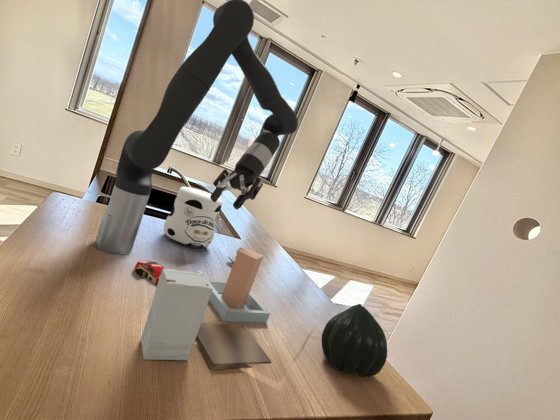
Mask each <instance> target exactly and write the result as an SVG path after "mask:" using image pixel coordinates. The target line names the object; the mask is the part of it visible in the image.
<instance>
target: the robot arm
mask: <svg viewBox="0 0 560 420" xmlns="http://www.w3.org/2000/svg"><path fill="white" fill-rule="evenodd" d="M254 18H255V16H254V10H253V8H252V6H251V5H250V3H248V2H247V1H245V0H227V1H226V2H224V3H223V4H221V5H220V6H218V7H217V8H216V10H215V11H214V14H213V18H212V22H213V23H212V24H213V27H212V29H211V30H210V32H209V33H208V34H207V36H206V38H205V39H204V40H203V41H202V42H201V43H200V44H199V45H198V47H197V48H195V49H194V50H193V52H191V54H189V56H187V58H186V59H185V60H184V61H183V63H181V65H180V66H179V68H178V69H177V71H175V74H174V75H173V76H172V78H170V79H171V80H170V81H169V83H168V84H167V87H166V89H165V91H164V93H163V94H164V95H163V97H162V100H161V103H160V106H159V109H158V111H157V113H156V115H155V116H154V118H153V119H152V120H151V122H150V123H149V125H148V126H147V127H146V128H145V130H136V131H133V132H131V133H130V134H129V135H128V136H127V138H126V139H125V141H124V143H123V147H122V149H121V153H120V157H119V160H118V165H117V168H116V173H115V174H116V175H115V181H114V185H113V188H112V191H111V195H110V198H109V202H108V205H107V208H105V209H104V211H103V214H102V217H101V220H100V224H99V227H98V230H97V234H96V237H95V245H96V248H97V250H102V251H104V252H107V253H112V254H117V255H129V254H131V252H132V251H133V247H134V245H135V242H136V238H137V235H138V232H139V229H140V225H141V223H142V220H143V216H144V213H145V211H146V207H147V203H148V201H149V198H150V194H151V191H152V189H153V183H152V182H153V181H152V177H153V176H152V175H153V171H154V169H157V168H158V167H160V166H161V165H162V164H163V163H164V162H165V160H166V159H167V157H168V155H169V153H170V151H171V149H172V147H173V145H174V143H175V141H176V139H177V138H178V136H179V134H180V133H181V131H182V130H183V128H184V126H185V125H186V123H187V122H188V121H189V120H190V118H191V117H192V115H193V114H194V113H195V111H196V110H197V108H198V107H199V105H200V104H201V103H202V101H203V100H204V99H205V97H206V96H207V94H208V92H209V91H210V90H211V88H212V86H213V84H214V83H215V81H216V80H217V78H218V77H219V76H220V75H219V74H220V73H221V72H222V70H223V68H224V67H225V64H226V63H227V62H228V59H229V58H230V56H231V55H232V57H233V58H234V60H235V61H236V63H237V65H238V66H239V68H240V70H241V71H242V73H243V75H244V77H245V78H246V79H245V80H247V82H248V85H249V87H250V88H251V90H252V92H253V95H254V96H255V99H256V100H257V102H258V105H259V106H260V107H261V109H262V110H264V111H269V112H271V114H269V116H267V117H266V118H265V120H264V122H263V124H262V126H261V129H260V132H259V134H258V135H257V137H256V138H255V140H254V141H253V142H252V144H251V145H249V147H247V149H246V151H244V153H243V154H242V156H241V157H240V158H239V159H238V161H237V162H236V164H235V167H234V170H233V171H231V172H230V171H228V169H226V168H225V169H223V170H222V171H221V173H220V174H219V175H218V176H217V178H215V180H213V182H212V183H213V186H214V188H215V189H214V190H213V191H212V193H210V194H211V196H210V198H211V200H212V201H213V202H216V201H217V200H218V198H220V197H221V196H222V194H223V192H225V191H230V190H232V189H234V190H239V191H240V194H239V195H238V197H237V198H236V199H235V201H234V202H233V204H232V206H233V208H234V209H235V210H239V209H240V208H242V206H243V205H244V203H245V202H246V201H248V200H249V199H250V200H252V201H253V200H255V199H256V197H257V195H258V194H259V192H260V190H261V189H262V187H263V186H264V183H263V181H262V179H261V178H260V177H261V174H262V173H264V171H265V170H266V167H267V166H268V165H269V163H270V161H271V159H272V158H273V156H274V155H275V153H276V152H277V150H278V149H279V147H280V145H281V144H280V143H281V142H280V139H279V136H285V135H291V134H294V133H295V132H297V129H298V126H299V122H298V117H297V115H296V112H295V111H294V110H293V109H292V107H291V106H290V105H289V103H288V102H287V101H286V99H284V97H283V96H282V95H281V93H280V90H279V88H278V86H277V83H276V81H275V79H274V77H273V76H272V74H271V72H270V71H269V69H268V67H266V66H265V65H264V63H263V62H262V60H261V59H260V58H259V55H257V54H256V52H255V51H254V48H253V46H252V45H251V43H250V40H249V38H248V35H249V34H250V33H251V31H252V30H253V26H254V22H255V19H254Z"/></svg>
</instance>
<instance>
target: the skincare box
mask: <svg viewBox="0 0 560 420" xmlns="http://www.w3.org/2000/svg"><path fill="white" fill-rule="evenodd" d="M164 268H165V267H164ZM164 268H163V269H162V272H161V275H160V278H159V282H158V285H156V288H155V292H154V295H153V299H152V301H151V304H150V308H149V311H148V314H147V318H146V321H145V324H144V327H143V328H144V329H143V331H142V334H141V338H140V343H141V352H142V359H143V360H149V361H150V360H155V361H156V360H158V361H160V360H161V361H162V360H163V361H189V359H190V357H191V354H192V351H193V347H194V344H195V342H196V340H195V339H196V336H197V333H198V330H199V327H200V325H201V323H203V322H202V321H203V319H204V316H205V312H206V310H207V307H208V304H209V302H210V301H209V299H210V296H211V293H212V291H213V288H212V287H211V285H210V283H209V281H210V280H209V279H208V277H207V275H206V273H203V274H202V273H197V272H192V271H185V270H184V271H183V270H177V269H171V268H169V269H168V268H165V269H164ZM208 280H209V281H208Z"/></svg>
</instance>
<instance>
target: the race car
mask: <svg viewBox="0 0 560 420" xmlns="http://www.w3.org/2000/svg"><path fill="white" fill-rule="evenodd" d="M163 268H164V269H166V267H164V266H163V265H162V264H160V263H158V262H157V261H152V260H147V259H143V260H138V261H137V262H136V264H135V266H134V272H135V274H136V275H138V276H139V277H141V278H142V279H143V280H144V279H149V280H150V281H151V282H152V283H153V284H154V285H156V286H157V285H158V282H159V278H160V275H161V272H162V269H163Z"/></svg>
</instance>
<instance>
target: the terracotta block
mask: <svg viewBox="0 0 560 420" xmlns="http://www.w3.org/2000/svg"><path fill="white" fill-rule="evenodd" d="M263 258H264V255H262V254H259V253H257V252H255V251H253V250H251V249H249V248H247V247H245V248H243V249H242V250H239V251H238V253H237V252H236V256H235V258H234V260H235V261H234V264H233V266H232V265H231V269H230V272H229V275H228V277H227V281H226V282H225V283H226V285H225V288H224V291H223V294H222V296H221V298H222V299H223V300H224V302H225V303H226V304H227V306H228V307H229V308H231V309H241V308H242V307H243V306H245V303H246V300H247V298H248V295H249V293H250V292H251V289H252V287H253V285H254V282H255V279H256V277H257V274H258V272H259V269H260V266H261V264H262V261H263Z"/></svg>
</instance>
